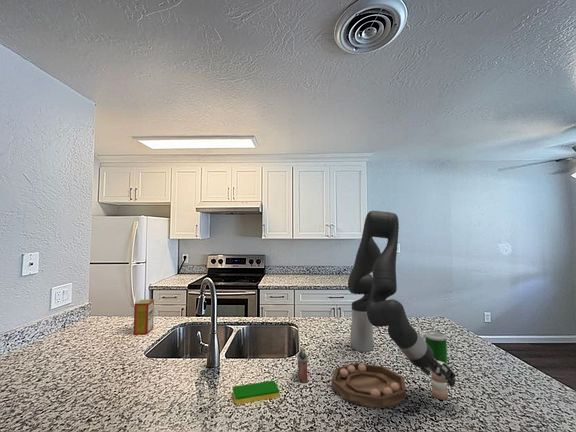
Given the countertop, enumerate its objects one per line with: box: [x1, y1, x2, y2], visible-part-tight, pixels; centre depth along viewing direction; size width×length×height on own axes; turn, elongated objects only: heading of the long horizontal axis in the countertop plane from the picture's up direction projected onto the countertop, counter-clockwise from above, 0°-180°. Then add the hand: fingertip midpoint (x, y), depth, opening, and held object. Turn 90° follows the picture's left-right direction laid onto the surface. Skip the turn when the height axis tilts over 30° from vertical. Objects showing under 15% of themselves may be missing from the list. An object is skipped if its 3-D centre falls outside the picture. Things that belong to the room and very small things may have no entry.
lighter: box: [297, 346, 309, 385], centre depth 107 cm, size 8×3×10 cm, turn 5°
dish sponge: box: [232, 380, 280, 405], centre depth 96 cm, size 7×14×2 cm, turn 108°
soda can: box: [424, 330, 448, 365], centre depth 119 cm, size 8×8×12 cm
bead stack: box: [431, 361, 449, 401], centre depth 96 cm, size 4×4×10 cm
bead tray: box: [331, 362, 407, 409], centre depth 100 cm, size 23×23×3 cm
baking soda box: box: [132, 299, 155, 336], centre depth 157 cm, size 10×6×16 cm
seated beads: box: [340, 363, 400, 397], centre depth 100 cm, size 20×11×3 cm, turn 27°
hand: (440, 378), depth 96 cm, fingers open, 8 cm apart
